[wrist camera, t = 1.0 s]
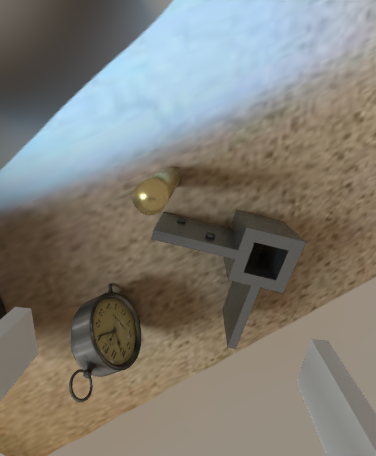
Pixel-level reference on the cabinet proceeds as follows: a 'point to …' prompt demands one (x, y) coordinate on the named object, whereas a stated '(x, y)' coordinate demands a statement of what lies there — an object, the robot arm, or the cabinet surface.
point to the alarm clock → (104, 337)
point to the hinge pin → (156, 191)
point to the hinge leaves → (239, 257)
